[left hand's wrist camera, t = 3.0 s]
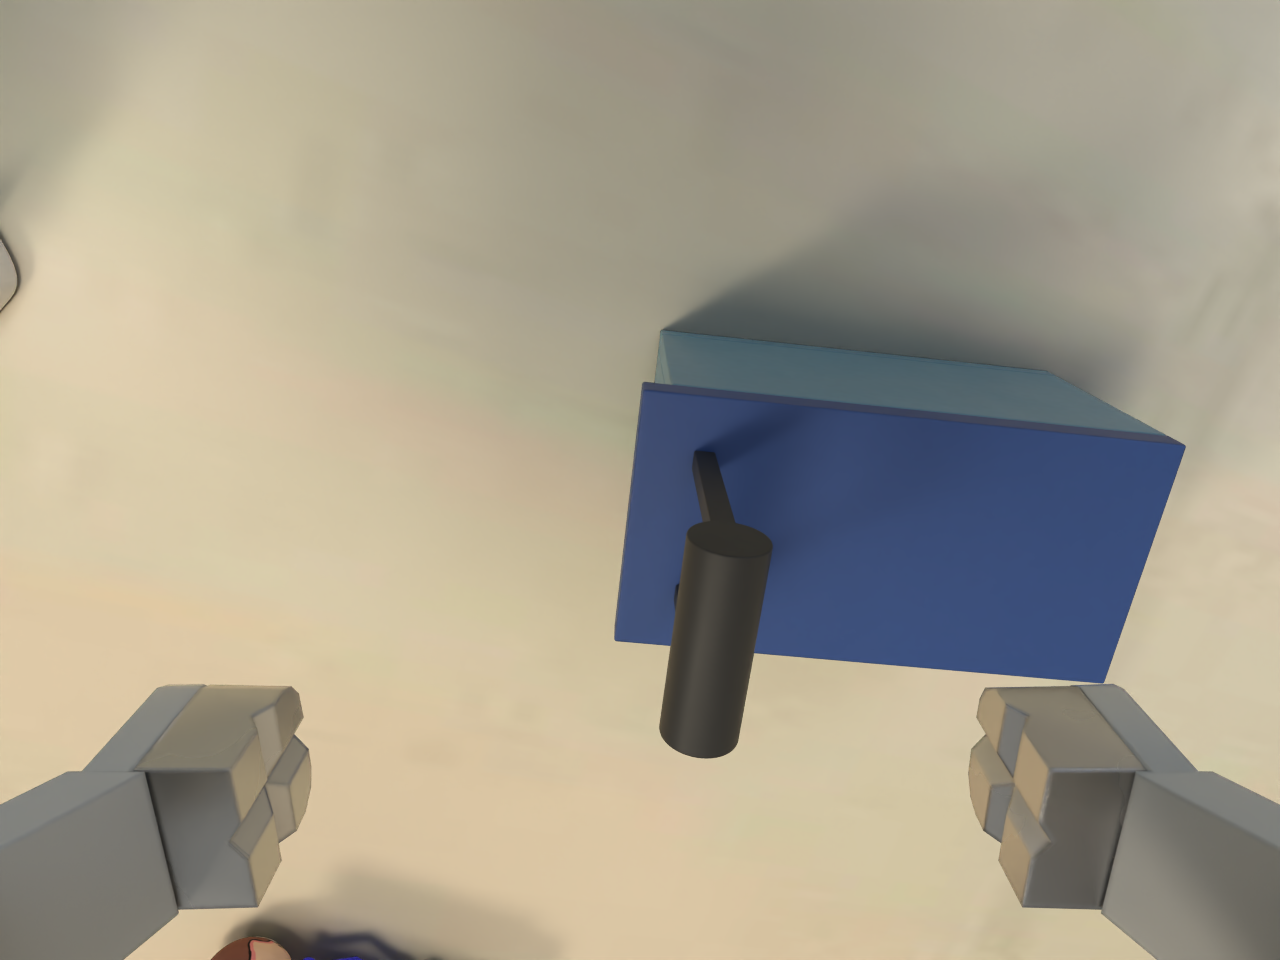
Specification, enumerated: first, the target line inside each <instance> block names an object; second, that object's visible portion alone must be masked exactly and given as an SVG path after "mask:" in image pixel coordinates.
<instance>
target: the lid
mask: <svg viewBox="0 0 1280 960" xmlns="http://www.w3.org/2000/svg"><path fill="white" fill-rule="evenodd" d="M1185 448H1186V446H1185V445H1184V444H1182V443H1180V442H1178V441H1176V440H1174V439H1173V438H1171V437H1169V436H1163V435H1154V434H1144V433H1134V432H1125V431H1115V430H1105V429H1095V428H1086V427H1076V426H1066V425H1057V424H1047V423H1037V422H1028V421H1018V420H1008V419H998V418H989V417H979V416H969V415H960V414H950V413H940V412H931V411H921V410H911V409H902V408H892V407H882V406H872V405H863V404H853V403H843V402H834V401H824V400H814V399H805V398H795V397H785V396H775V395H766V394H756V393H746V392H737V391H727V390H717V389H708V388H698V387H688V386H678V385H669V384H659V383H649V382H643V384H642V390H641V399H640V408H639V417H638V425H637V434H636V443H635V452H634V461H633V469H632V478H631V487H630V496H629V504H628V513H627V522H626V531H625V540H624V548H623V557H622V566H621V575H620V584H619V592H618V601H617V610H616V619H615V636H614V639H615V641H621V642H633V643H644V644H656V645H667V646H671V647H670V654H669V661H668V668H667V676H666V683H665V690H664V697H663V704H662V711H661V718H660V726H659V729H660V733H661V736H662V738H663V739H664V741H665V742H666V743H667V744H668V745H669V746H670V747H672V748H673V749H675V750H676V751H678V752H680V753H683V754H685V755H688V756H692V757H696V758H717V757H721V756H724V755H726V754H728V753H730V752H731V751H732V750H733V749H734V748H735V747H736V745H737V743H738V739H739V733H740V728H741V722H742V717H743V711H744V706H745V700H746V695H747V689H748V683H749V678H750V672H751V667H752V661H753V656H754V653H759V654H770V655H782V656H793V657H805V658H816V659H828V660H839V661H851V662H862V663H874V664H885V665H897V666H908V667H920V668H931V669H943V670H954V671H966V672H977V673H988V674H1000V675H1011V676H1023V677H1034V678H1046V679H1057V680H1069V681H1080V682H1092V683H1104V681H1105V678H1106V675H1107V672H1108V670H1109V667H1110V664H1111V661H1112V658H1113V655H1114V652H1115V649H1116V646H1117V644H1118V641H1119V638H1120V635H1121V632H1122V629H1123V626H1124V623H1125V621H1126V618H1127V615H1128V612H1129V609H1130V606H1131V603H1132V600H1133V598H1134V595H1135V592H1136V589H1137V586H1138V583H1139V580H1140V577H1141V575H1142V572H1143V569H1144V566H1145V563H1146V560H1147V557H1148V554H1149V551H1150V549H1151V546H1152V543H1153V540H1154V537H1155V534H1156V531H1157V528H1158V526H1159V523H1160V520H1161V517H1162V514H1163V511H1164V508H1165V505H1166V503H1167V500H1168V497H1169V494H1170V491H1171V488H1172V485H1173V482H1174V479H1175V477H1176V474H1177V471H1178V468H1179V465H1180V462H1181V459H1182V456H1183V454H1184V451H1185Z"/></svg>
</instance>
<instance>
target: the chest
mask: <svg viewBox="0 0 1280 960" xmlns="http://www.w3.org/2000/svg"><path fill="white" fill-rule="evenodd" d="M655 383H659V384H669V385H678V386H688V387H698V388H708V389H717V390H727V391H737V392H746V393H756V394H766V395H775V396H785V397H795V398H805V399H814V400H824V401H834V402H843V403H853V404H863V405H872V406H882V407H892V408H902V409H911V410H921V411H931V412H940V413H950V414H960V415H969V416H979V417H989V418H998V419H1008V420H1018V421H1028V422H1037V423H1047V424H1057V425H1066V426H1076V427H1086V428H1095V429H1105V430H1115V431H1125V432H1134V433H1144V434H1154V435H1163V436H1166V435H1165V434H1163V433H1161V432H1159V431H1158V430H1156V429H1154V428H1152V427H1150V426H1148V425H1146V424H1144V423H1143V422H1141V421H1139V420H1137V419H1135V418H1133V417H1131V416H1130V415H1128V414H1126V413H1124V412H1122V411H1120V410H1118V409H1116V408H1115V407H1113V406H1111V405H1109V404H1107V403H1105V402H1103V401H1102V400H1100V399H1098V398H1096V397H1094V396H1092V395H1090V394H1088V393H1087V392H1085V391H1083V390H1081V389H1079V388H1077V387H1075V386H1074V385H1072V384H1070V383H1068V382H1066V381H1064V380H1062V379H1060V378H1059V377H1057V376H1055V375H1053V374H1052V373H1050V372H1048V371H1042V370H1033V369H1023V368H1014V367H1004V366H995V365H986V364H976V363H967V362H957V361H948V360H939V359H929V358H920V357H910V356H901V355H892V354H882V353H873V352H863V351H854V350H845V349H835V348H826V347H816V346H807V345H798V344H788V343H779V342H769V341H760V340H751V339H741V338H732V337H722V336H713V335H704V334H694V333H685V332H675V331H666V330H661V333H660V341H659V349H658V358H657V366H656V375H655Z"/></svg>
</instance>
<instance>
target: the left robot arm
mask: <svg viewBox="0 0 1280 960" xmlns="http://www.w3.org/2000/svg"><path fill="white" fill-rule="evenodd" d="M16 287H17V274H16V270H15V267H14V264H13V262H12V260H11V257H10V255H9V253H8V252H7V250H6V248H5V246H4V244H3V242H2V241H1V239H0V310H1V309H2V308H3V307H4V305H5V304H6V303H7V302H8V301H9V300H10V298H11V297H12V296H13V294H14V293H15V290H16ZM303 718H304V717H303V712H302V707H301V702H300V697H299V693H298V692H297V691H296V690H295V689H293V688H292V687H291V686H245V685H208V686H207V685H204V684H198V685H166V686H162V687H159V688H157V689H156V690H155V691H154V692H153V693H152V694H151V695H150V696H149V697H148V698H147V700H146V701H145V702H144V703H143V704H142V705H141V706H140V707H139V708H138V710H137V711H136V712H135V713H134V714H133V715H132V716H131V717H130V718H129V720H128V721H127V722H126V723H125V724H124V725H123V726H122V727H121V728H120V729H119V731H118V732H117V733H116V734H115V735H114V736H113V737H112V738H111V739H110V741H109V742H108V743H107V744H106V745H105V746H104V747H103V748H102V749H101V751H100V752H99V753H98V754H97V755H96V756H95V757H94V758H93V759H92V761H91V762H90V763H89V764H88V765H87V766H86V767H85V768H84V769H83V770H82V771H78V772H66V773H64V774H62V775H60V776H58V777H56V778H54V779H51V780H49V781H47V782H45V783H43V784H41V785H39V786H37V787H35V788H33V789H31V790H29V791H27V792H25V793H23V794H21V795H19V796H17V797H15V798H13V799H11V800H9V801H7V802H5V803H3V804H1V805H0V960H124V959H125V958H126V957H127V956H128V955H130V954H131V953H132V952H133V951H134V950H136V949H137V948H138V947H139V946H140V945H142V944H143V943H144V942H145V941H147V940H148V939H149V938H150V937H151V936H153V935H154V934H155V933H156V932H157V931H159V930H160V929H161V928H162V927H163V926H165V925H166V924H167V923H168V922H169V921H171V920H172V919H173V918H174V917H175V916H177V915H178V913H179V912H178V910H180V909H214V908H249V907H258V906H259V904H260V902H261V900H262V898H263V896H264V894H265V892H266V890H267V888H268V886H269V884H270V882H271V880H272V878H273V876H274V874H275V872H276V870H277V868H278V867H279V865H280V863H281V861H282V860H281V854H280V848H279V843H280V842H281V841H283V840H284V839H285V838H287V837H288V836H290V835H291V834H293V833H294V832H295V831H297V829H298V827H299V824H300V822H301V820H302V818H303V816H304V814H305V812H306V807H307V803H308V798H309V794H310V789H311V761H310V754H309V749H308V748H307V747H306V746H305V745H304V744H303V743H302V742H301V741H300V740H299V739H298V738H297V737H296V736H295V735H294V733H295V732H296V730H297V728H298V726H299V725H300V723H301V721H302V719H303ZM976 718H977V719H978V721H979V723H980V725H981V726H982V728H983V730H984V731H985V733H986V735H985V736H984V737H983V738H982V739H981V740H980V741H979V742H978V743H977V744H976V745H975V746H974V747H973V748H972V749H971V756H970V764H969V772H968V775H969V786H970V797H971V800H972V804H973V807H974V811H975V814H976V816H977V818H978V820H979V822H980V824H981V827H982V829H983V831H985V832H986V833H987V834H989V835H990V836H992V837H993V838H995V839H996V840H997V841H999V842H1000V843H1001V848H1000V854H999V860H998V861H999V863H1000V865H1001V866H1002V868H1003V870H1004V872H1005V874H1006V876H1007V878H1008V880H1009V882H1010V884H1011V886H1012V888H1013V890H1014V892H1015V894H1016V896H1017V898H1018V900H1019V902H1020V904H1021V906H1022V907H1029V908H1065V909H1100V910H1102V911H1101V914H1103V915H1104V916H1105V917H1106V918H1107V919H1109V920H1110V921H1111V922H1112V923H1113V924H1115V925H1116V926H1117V927H1118V928H1119V929H1121V930H1122V931H1123V932H1124V933H1125V934H1127V935H1128V936H1129V937H1130V938H1131V939H1133V940H1134V941H1135V942H1136V943H1137V944H1139V945H1140V946H1141V947H1142V948H1143V949H1145V950H1146V951H1147V952H1148V953H1149V954H1151V955H1152V956H1153V957H1154V958H1155V959H1157V960H1280V805H1279V804H1277V803H1275V802H1273V801H1271V800H1269V799H1267V798H1265V797H1263V796H1261V795H1259V794H1257V793H1255V792H1253V791H1251V790H1249V789H1247V788H1245V787H1243V786H1241V785H1239V784H1237V783H1235V782H1233V781H1231V780H1228V779H1226V778H1224V777H1222V776H1220V775H1218V774H1216V773H1214V772H1202V771H1198V770H1197V769H1196V768H1195V767H1194V766H1193V765H1192V764H1191V763H1190V762H1189V761H1188V759H1187V758H1186V757H1185V756H1184V755H1183V754H1182V753H1181V752H1180V751H1179V749H1178V748H1177V747H1176V746H1175V745H1174V744H1173V743H1172V742H1171V741H1170V739H1169V738H1168V737H1167V736H1166V735H1165V734H1164V733H1163V732H1162V731H1161V729H1160V728H1159V727H1158V726H1157V725H1156V724H1155V723H1154V722H1153V721H1152V720H1151V718H1150V717H1149V716H1148V715H1147V714H1146V713H1145V712H1144V711H1143V710H1142V708H1141V707H1140V706H1139V705H1138V704H1137V703H1136V702H1135V701H1134V700H1133V698H1132V697H1131V696H1130V695H1129V694H1128V693H1127V692H1126V691H1125V690H1124V689H1123V688H1121V687H1119V686H1116V685H1114V684H1098V685H1071V686H1051V687H997V688H985V689H984V691H983V693H982V695H981V697H980V700H979V706H978V711H977V717H976Z"/></svg>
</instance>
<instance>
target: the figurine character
mask: <svg viewBox="0 0 1280 960" xmlns="http://www.w3.org/2000/svg"><path fill="white" fill-rule="evenodd" d="M211 960H291V958H290V956H289V954H288V952H287V951H286V950H285V949H284V948H283V947H282V946H281V945H280V944H279V943H277V942H275V941H273V940H271V939H269V938H265V937H246V938H242V939H239V940H237V941H234V942H232V943H230V944H229V945H227V946H225V947H224V948H223V949H221V950H220V951H219V952H218V953H217V954H216V955H215V956H214V957H213V958H212V959H211ZM303 960H315V959H314V958H311V957H307V958H304V959H303ZM335 960H362V959H360V958H358V957H356V956H355V957H350V958H343V959H335Z"/></svg>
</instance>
